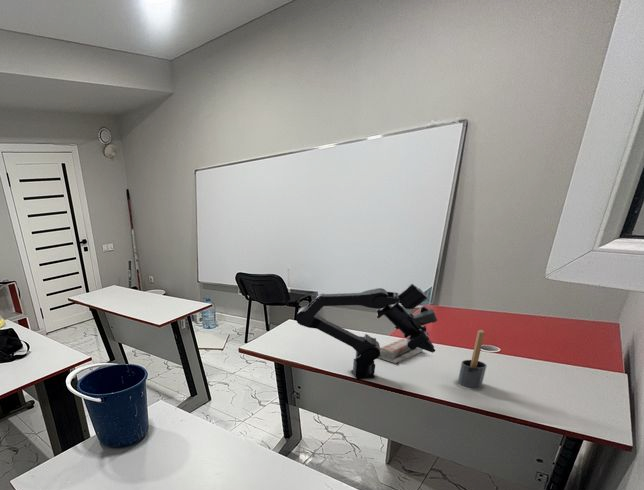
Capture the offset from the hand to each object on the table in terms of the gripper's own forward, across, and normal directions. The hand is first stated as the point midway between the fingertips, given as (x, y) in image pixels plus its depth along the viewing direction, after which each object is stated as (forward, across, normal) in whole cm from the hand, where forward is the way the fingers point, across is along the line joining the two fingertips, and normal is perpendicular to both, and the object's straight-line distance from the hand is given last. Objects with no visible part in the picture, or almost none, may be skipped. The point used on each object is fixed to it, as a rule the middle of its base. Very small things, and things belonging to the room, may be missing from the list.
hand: (433, 349), depth 122 cm
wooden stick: (+16, 0, 0) cm, 16 cm away
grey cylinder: (+17, 0, 0) cm, 17 cm away
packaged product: (+3, +22, +14) cm, 27 cm away
